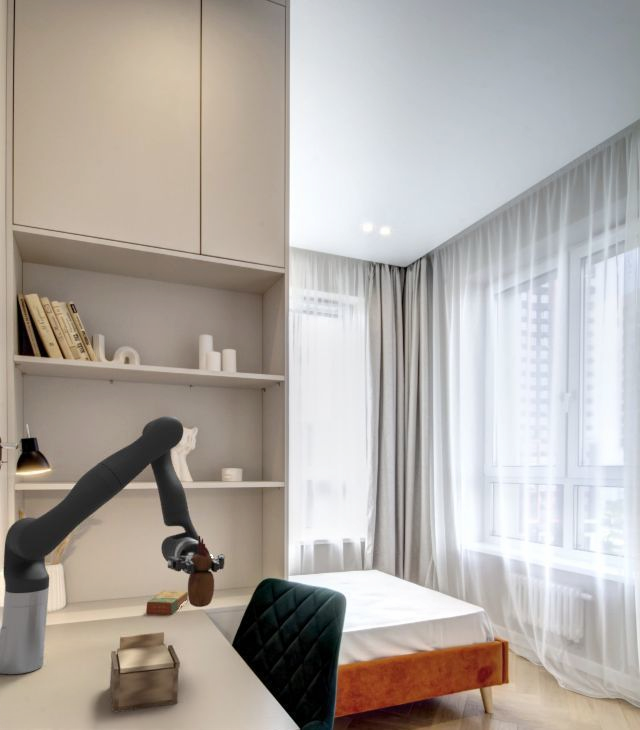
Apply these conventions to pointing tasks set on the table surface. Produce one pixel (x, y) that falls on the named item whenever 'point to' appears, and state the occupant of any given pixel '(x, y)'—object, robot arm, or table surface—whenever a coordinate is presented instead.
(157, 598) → the carton
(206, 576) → the wooden figurine
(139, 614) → the table surface
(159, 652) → the lid
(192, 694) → the table surface
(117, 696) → the light wooden box
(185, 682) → the table surface
